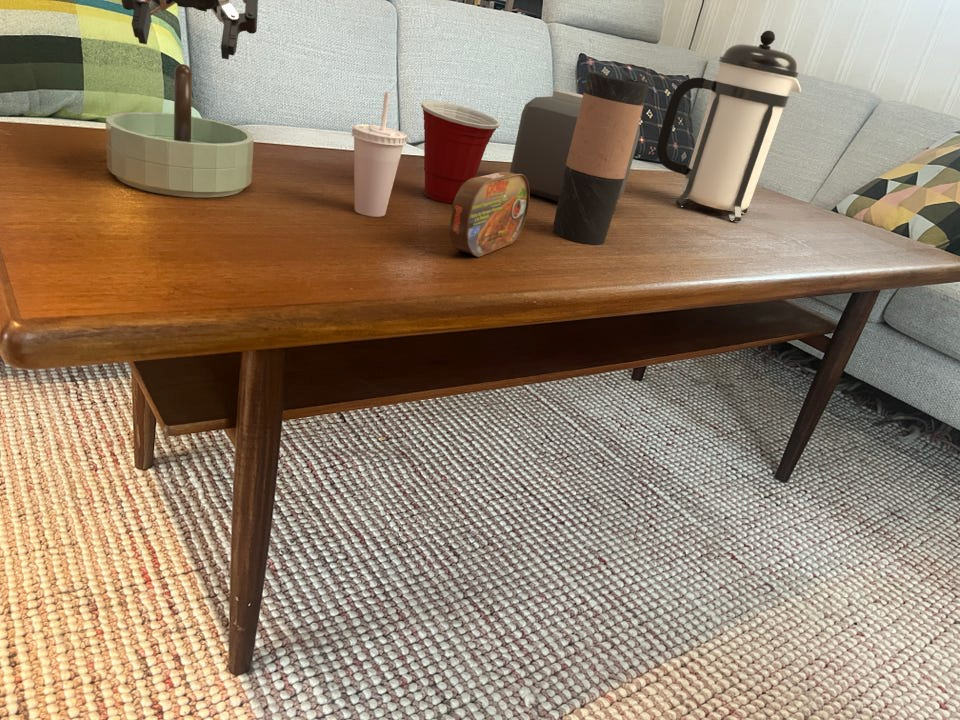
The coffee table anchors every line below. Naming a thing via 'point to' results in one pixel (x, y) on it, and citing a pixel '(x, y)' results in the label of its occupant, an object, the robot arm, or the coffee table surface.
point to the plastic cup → (453, 146)
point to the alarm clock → (550, 142)
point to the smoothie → (375, 164)
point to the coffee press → (733, 125)
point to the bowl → (178, 155)
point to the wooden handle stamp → (182, 103)
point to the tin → (489, 212)
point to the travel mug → (598, 157)
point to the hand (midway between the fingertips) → (183, 46)
